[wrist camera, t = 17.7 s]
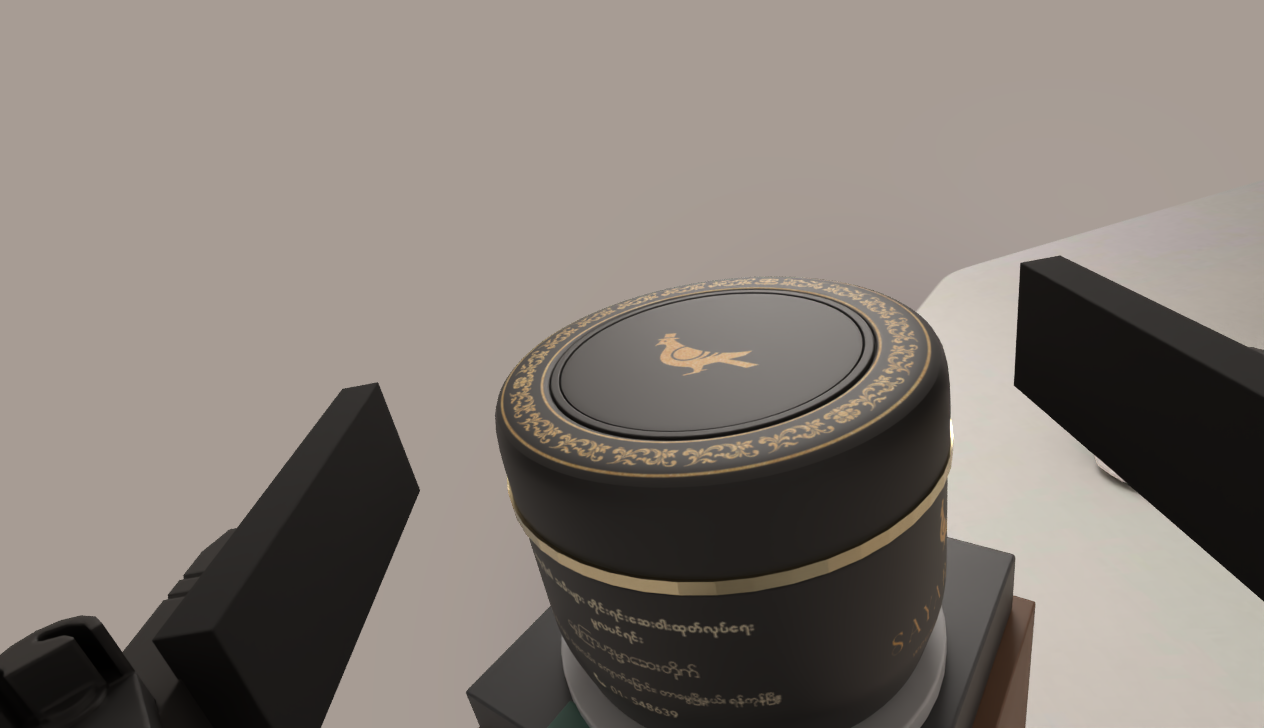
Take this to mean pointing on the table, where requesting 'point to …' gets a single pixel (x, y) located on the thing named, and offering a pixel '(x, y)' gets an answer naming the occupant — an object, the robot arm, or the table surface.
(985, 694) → the scale
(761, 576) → the jar
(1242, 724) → the table surface
